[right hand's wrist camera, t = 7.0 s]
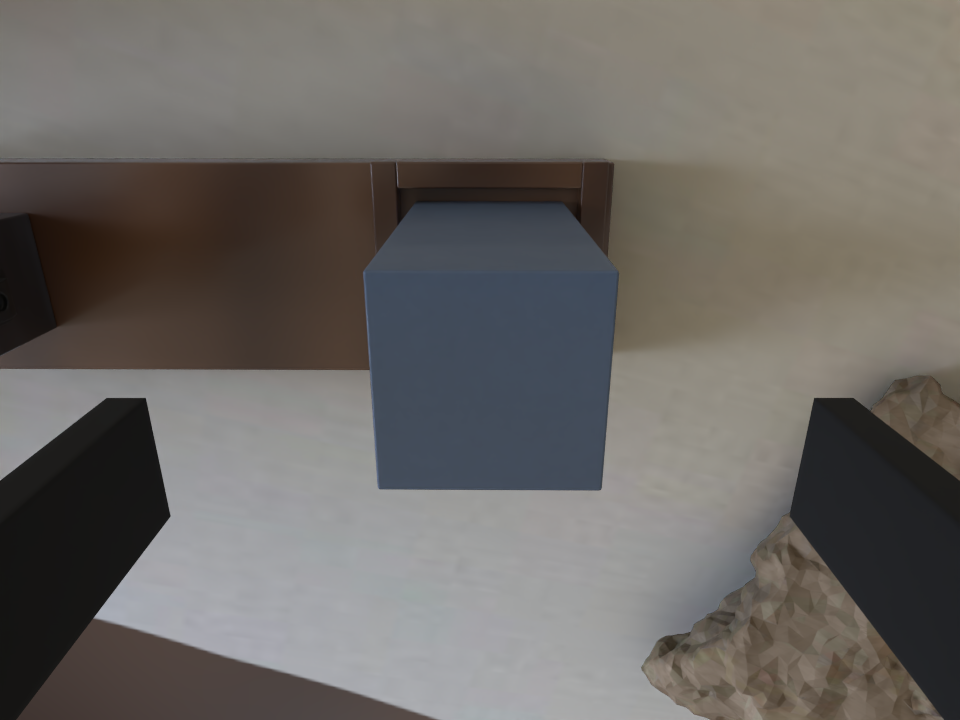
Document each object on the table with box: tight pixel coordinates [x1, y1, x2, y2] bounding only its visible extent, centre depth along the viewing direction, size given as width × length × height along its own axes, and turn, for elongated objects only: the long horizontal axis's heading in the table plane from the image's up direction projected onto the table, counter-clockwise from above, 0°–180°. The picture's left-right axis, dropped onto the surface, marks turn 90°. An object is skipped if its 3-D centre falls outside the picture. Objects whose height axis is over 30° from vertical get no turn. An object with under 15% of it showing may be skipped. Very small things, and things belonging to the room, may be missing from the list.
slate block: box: [363, 201, 619, 490], centre depth 22 cm, size 6×6×12 cm
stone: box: [641, 376, 960, 720], centre depth 32 cm, size 21×15×6 cm
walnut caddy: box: [0, 159, 614, 370], centre depth 24 cm, size 28×9×10 cm, turn 90°
